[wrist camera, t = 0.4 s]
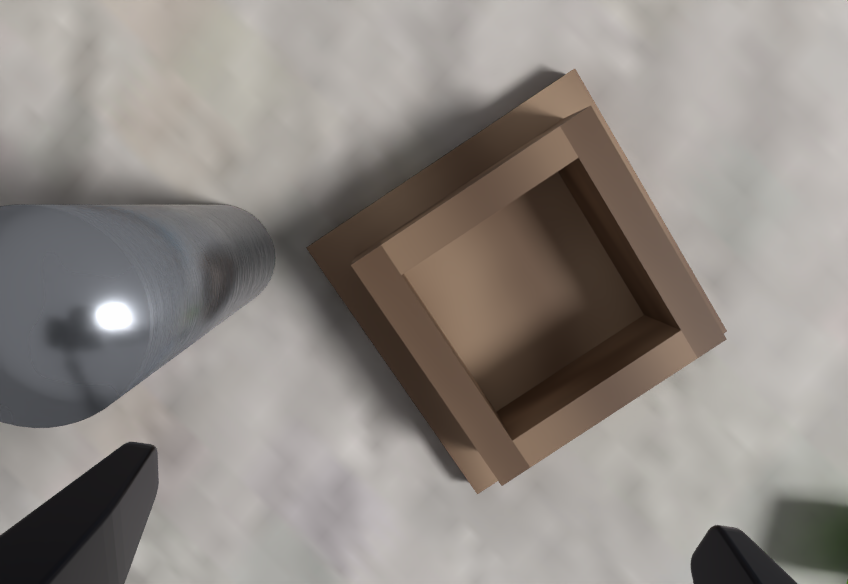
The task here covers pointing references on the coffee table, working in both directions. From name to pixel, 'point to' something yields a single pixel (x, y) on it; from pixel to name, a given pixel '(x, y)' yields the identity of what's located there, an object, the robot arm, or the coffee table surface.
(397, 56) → the coffee table surface
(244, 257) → the steel pin
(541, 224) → the walnut box
